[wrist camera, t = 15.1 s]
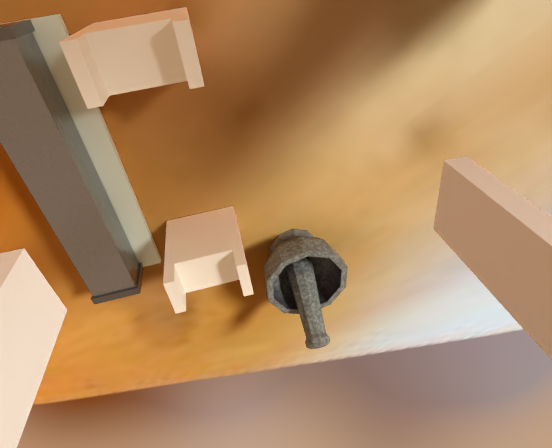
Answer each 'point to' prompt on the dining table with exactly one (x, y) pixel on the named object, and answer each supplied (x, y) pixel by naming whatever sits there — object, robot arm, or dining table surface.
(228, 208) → the beige u-shaped block
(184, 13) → the beige bridge block
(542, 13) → the dining table surface
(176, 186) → the dining table surface
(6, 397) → the robot arm
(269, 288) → the mortar and pestle
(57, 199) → the rail
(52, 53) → the mat
